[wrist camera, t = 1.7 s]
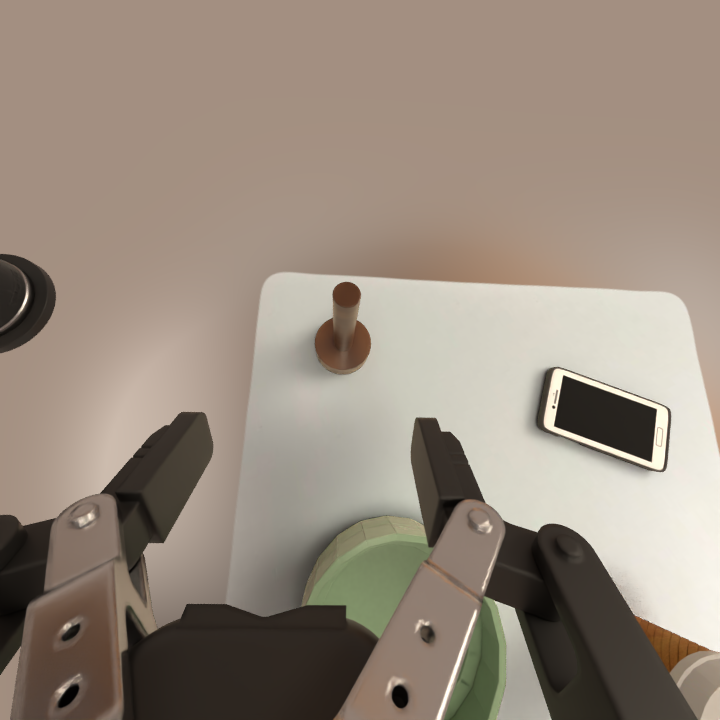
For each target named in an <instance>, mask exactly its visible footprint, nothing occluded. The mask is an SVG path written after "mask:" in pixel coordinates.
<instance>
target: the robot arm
mask: <svg viewBox="0 0 720 720" xmlns="http://www.w3.org/2000/svg"><path fill="white" fill-rule="evenodd" d="M34 298H35V289H34V285H33V282H32V280H31V278H30V277H29V276H28V274H27V273H26V272H24V271H23V270H22V269H20V268H18V267H16V266H14V265H12V264H10V263H8V262H6V261H3V260H1V259H0V336H2V335H4V334H6V333H8V332H10V331H11V330H13V329H14V328H16V327H17V326H18V325H19V324H20V323H21V322H22V321H23V320H24V319H25V318H26V316H27V315H28V313H29V312H30V310H31V308H32V305H33V302H34ZM212 453H213V441H212V437H211V433H210V429H209V425H208V421H207V418H206V415H205V413H202V412H181V413H180V414H179V415H178V416H177V417H176V418H175V419H174V421H173V422H172V423H171V424H170V425H166V426H164V427H162V428H161V429H159V430H158V431H156V432H155V433H153V434H152V435H151V436H150V437H149V438H148V439H147V440H146V442H145V443H144V444H143V445H142V447H141V448H140V449H139V450H138V451H137V452H136V453H135V454H134V455H133V458H131V459H130V460H129V461H128V462H127V463H126V464H125V465H124V467H123V468H122V469H121V470H120V471H119V472H118V474H117V475H116V476H115V477H114V478H113V479H112V480H111V482H110V483H109V484H108V485H107V486H106V487H105V488H104V490H103V491H102V492H101V493H100V494H95V495H92V496H89V497H85V498H83V499H81V500H79V501H77V502H75V503H74V504H72V505H70V506H69V507H68V508H67V509H65V510H64V511H63V512H62V513H61V514H60V515H59V516H58V517H57V518H54V519H50V520H46V521H42V522H38V523H34V524H30V525H25V526H22V525H21V523H20V522H19V521H18V519H17V518H16V517H14V516H12V515H0V675H1V673H2V672H3V670H4V669H5V667H6V666H7V664H8V663H9V662H10V660H11V659H12V657H13V656H14V655H15V653H16V652H17V650H18V649H19V648H20V646H21V650H20V657H19V664H18V671H17V677H16V684H15V691H14V697H13V703H12V710H11V717H10V720H444V717H445V714H446V711H447V708H448V705H449V702H450V700H451V697H452V694H453V691H454V688H455V685H456V682H457V679H458V676H459V673H460V670H461V667H462V664H463V661H464V658H465V655H466V652H467V649H468V646H469V643H470V640H471V637H472V634H473V631H474V628H475V625H476V622H477V619H478V616H479V613H480V610H481V607H482V603H483V598H484V596H485V597H487V598H490V599H493V600H495V601H498V602H500V603H503V604H506V605H508V606H511V607H514V608H515V610H516V613H517V616H518V619H519V622H520V625H521V628H522V631H523V635H524V638H525V641H526V644H527V647H528V650H529V653H530V656H531V659H532V662H533V665H534V668H535V671H536V674H537V677H538V680H539V683H540V686H541V689H542V692H543V695H544V698H545V701H546V704H547V707H548V710H549V713H550V716H551V719H552V720H698V719H697V717H696V716H695V714H694V712H693V711H692V709H691V707H690V706H689V704H688V703H687V701H686V699H685V698H684V696H683V694H682V693H681V691H680V690H679V688H678V686H677V685H676V683H675V681H674V680H673V678H672V676H671V675H670V673H669V672H668V670H667V668H666V667H665V665H664V663H663V662H662V660H661V659H660V657H659V655H658V654H657V652H656V650H655V649H654V647H653V646H652V644H651V642H650V641H649V639H648V637H647V636H646V634H645V632H644V631H643V629H642V628H641V626H640V624H639V623H638V621H637V619H636V618H635V616H634V615H633V613H632V611H631V610H630V608H629V606H628V605H627V603H626V601H625V600H624V598H623V597H622V595H621V593H620V592H619V590H618V588H617V587H616V585H615V584H614V582H613V580H612V579H611V577H610V575H609V574H608V572H607V570H606V569H605V567H604V566H603V564H602V562H601V561H600V559H599V557H598V556H597V554H596V553H595V551H594V549H593V548H592V547H591V545H590V544H589V543H588V542H587V541H586V540H585V539H584V538H583V537H582V536H580V535H579V534H578V533H576V532H575V531H573V530H571V529H570V528H567V527H565V526H562V525H559V524H546V525H544V526H542V527H541V528H540V530H539V531H538V532H534V531H531V530H528V529H525V528H522V527H518V526H515V525H512V524H510V523H508V522H506V521H504V520H502V518H501V516H500V515H499V514H498V512H497V511H496V510H495V509H493V508H492V507H491V506H489V505H488V504H486V503H485V501H484V499H483V496H482V494H481V491H480V489H479V487H478V484H477V482H476V479H475V477H474V475H473V472H472V470H471V467H470V465H468V460H467V458H466V456H465V455H464V451H463V448H462V446H461V444H460V441H459V440H458V439H457V438H456V437H455V436H454V435H453V434H452V433H451V432H441V430H440V427H439V424H438V421H437V419H436V418H416V419H415V423H414V430H413V437H412V444H411V464H412V469H413V474H414V479H415V484H416V489H417V493H418V498H419V503H420V508H421V513H422V518H423V523H424V528H425V533H426V538H427V543H428V548H433V550H432V552H431V554H430V555H429V557H428V559H427V560H424V561H423V562H422V563H421V564H420V566H419V568H418V569H417V571H416V573H415V575H414V577H413V579H412V580H411V582H410V584H409V586H408V588H407V590H406V591H405V593H404V595H403V597H402V599H401V600H400V602H399V604H398V606H397V608H396V610H395V611H394V613H393V615H392V617H391V619H390V621H389V622H388V624H387V626H386V628H385V630H384V632H383V633H382V635H381V637H380V639H379V638H378V637H377V636H376V635H375V634H374V633H373V632H372V631H370V630H369V629H368V628H366V627H365V626H363V625H361V624H360V623H358V622H356V621H354V620H351V619H348V618H346V605H306V606H303V607H299V608H296V609H292V610H289V611H286V612H282V613H279V614H275V615H272V616H269V617H261V616H258V615H255V614H252V613H249V612H246V611H244V610H241V609H238V608H235V607H232V606H230V605H227V604H187V605H186V607H185V610H184V612H183V614H182V617H181V619H178V620H176V621H173V622H171V623H168V624H166V625H165V626H162V627H161V628H159V629H158V627H157V624H156V621H155V618H154V615H153V610H152V604H151V597H150V591H149V584H148V577H147V570H146V563H145V557H144V554H143V551H144V549H145V548H146V546H147V544H148V543H164V541H165V540H166V538H167V536H168V534H169V532H170V531H171V529H172V527H173V525H174V524H175V522H176V520H177V518H178V516H179V515H180V513H181V511H182V509H183V508H184V506H185V504H186V502H187V500H188V499H189V496H190V495H191V493H192V492H193V489H194V488H195V486H196V484H197V483H198V481H199V479H200V477H201V476H202V474H203V472H204V470H205V468H206V467H207V465H208V463H209V461H210V459H211V457H212Z"/></svg>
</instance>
